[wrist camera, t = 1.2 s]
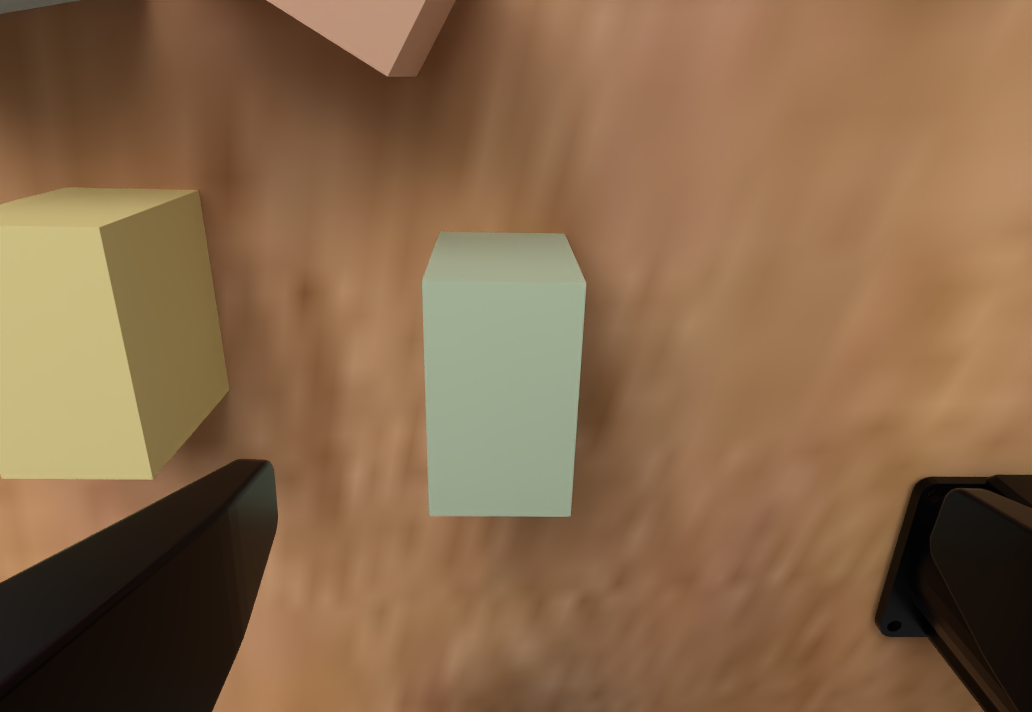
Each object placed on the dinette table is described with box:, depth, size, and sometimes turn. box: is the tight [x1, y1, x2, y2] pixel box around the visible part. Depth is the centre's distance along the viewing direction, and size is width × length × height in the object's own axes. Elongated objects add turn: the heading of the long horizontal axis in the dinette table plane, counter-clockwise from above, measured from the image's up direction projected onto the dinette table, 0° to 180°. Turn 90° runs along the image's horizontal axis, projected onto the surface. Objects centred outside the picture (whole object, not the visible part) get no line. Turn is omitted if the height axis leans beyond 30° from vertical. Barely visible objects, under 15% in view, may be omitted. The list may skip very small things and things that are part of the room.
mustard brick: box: [0, 187, 229, 480], centre depth 17 cm, size 6×4×5 cm, turn 179°
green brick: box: [422, 231, 586, 517], centre depth 18 cm, size 6×4×5 cm, turn 179°
